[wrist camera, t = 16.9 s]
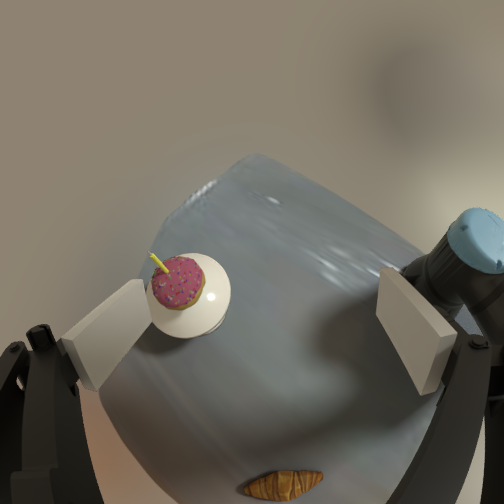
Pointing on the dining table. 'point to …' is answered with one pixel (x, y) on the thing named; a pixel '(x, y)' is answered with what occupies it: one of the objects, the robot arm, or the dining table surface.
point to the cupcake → (177, 282)
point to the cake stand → (200, 314)
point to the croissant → (283, 485)
